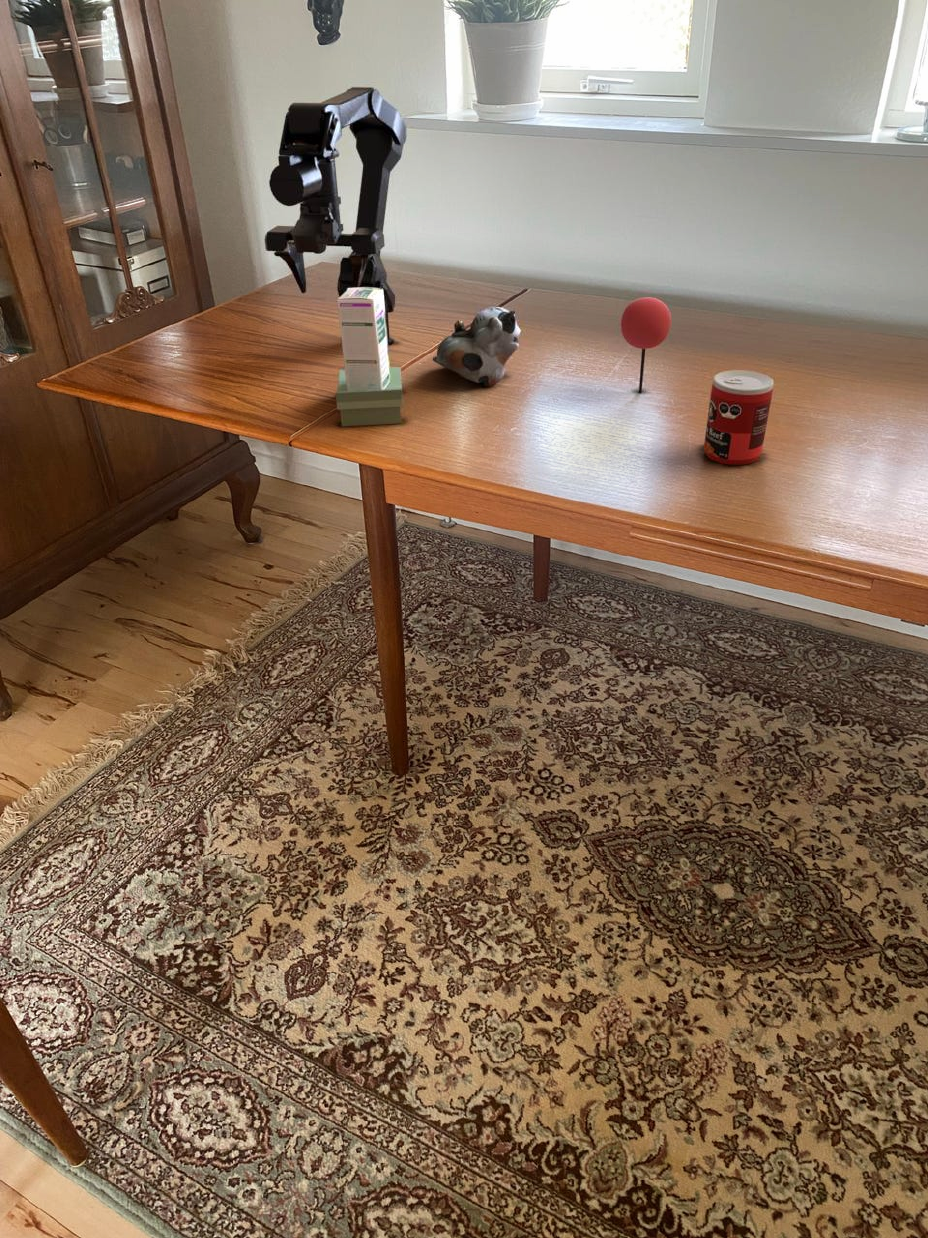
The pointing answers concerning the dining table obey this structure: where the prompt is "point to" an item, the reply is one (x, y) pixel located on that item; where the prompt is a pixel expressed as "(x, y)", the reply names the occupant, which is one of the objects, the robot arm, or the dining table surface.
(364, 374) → the syrup box
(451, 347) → the lucky cat figurine
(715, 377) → the canned food
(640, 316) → the lollipop
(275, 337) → the dining table surface
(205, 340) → the dining table surface
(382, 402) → the green lidded box
